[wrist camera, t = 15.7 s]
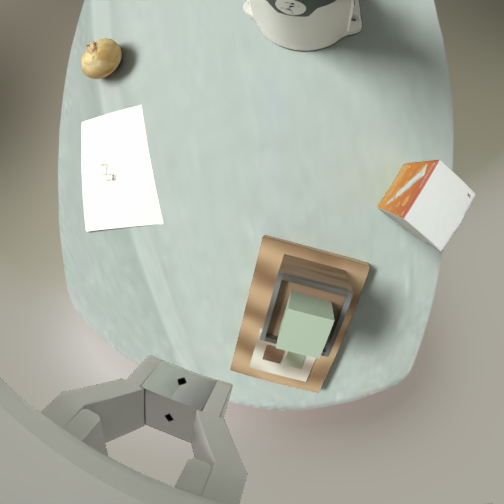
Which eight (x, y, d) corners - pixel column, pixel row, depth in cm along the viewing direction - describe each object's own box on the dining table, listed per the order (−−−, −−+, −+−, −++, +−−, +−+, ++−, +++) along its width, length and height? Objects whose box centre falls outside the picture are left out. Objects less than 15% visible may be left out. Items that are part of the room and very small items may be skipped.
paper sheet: (85, 110, 44) (82, 109, 43) (232, 91, 40) (231, 89, 39) (82, 230, 50) (78, 231, 49) (225, 240, 46) (224, 241, 45)
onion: (133, 60, 40) (111, 47, 33) (103, 90, 42) (78, 81, 35) (117, 37, 39) (96, 25, 32) (89, 66, 41) (66, 57, 35)
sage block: (290, 290, 34) (288, 308, 29) (331, 301, 34) (334, 320, 29) (280, 326, 35) (275, 347, 31) (318, 336, 35) (319, 358, 30)
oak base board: (264, 234, 43) (250, 252, 33) (367, 262, 41) (385, 288, 31) (233, 363, 50) (215, 403, 39) (318, 385, 48) (318, 428, 38)
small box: (403, 162, 37) (440, 157, 25) (434, 188, 37) (478, 194, 24) (375, 207, 39) (402, 219, 27) (406, 232, 39) (442, 253, 27)
